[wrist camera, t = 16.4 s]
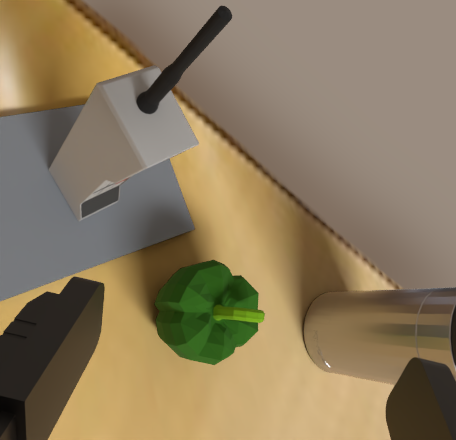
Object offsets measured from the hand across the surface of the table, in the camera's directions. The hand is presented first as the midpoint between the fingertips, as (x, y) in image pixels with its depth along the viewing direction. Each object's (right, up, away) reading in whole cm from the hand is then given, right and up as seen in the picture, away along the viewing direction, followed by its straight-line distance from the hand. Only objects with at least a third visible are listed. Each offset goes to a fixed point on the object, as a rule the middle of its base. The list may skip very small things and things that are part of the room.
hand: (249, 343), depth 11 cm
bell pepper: (-5, -6, +29) cm, 30 cm away
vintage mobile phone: (-13, +6, +26) cm, 29 cm away
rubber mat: (-14, +6, +26) cm, 30 cm away
